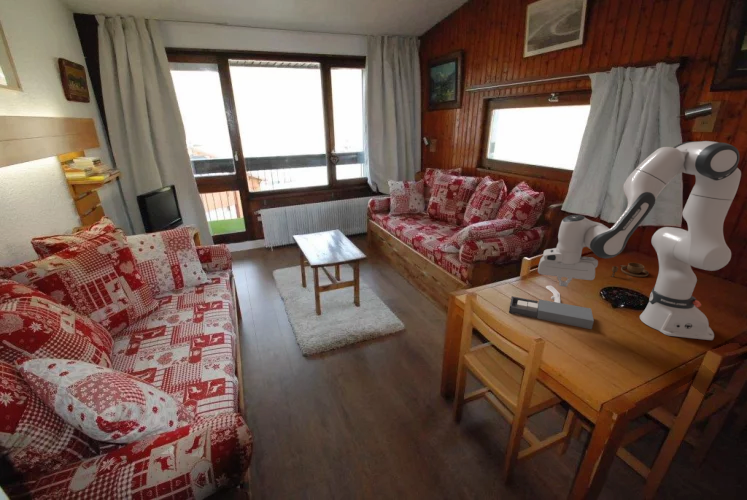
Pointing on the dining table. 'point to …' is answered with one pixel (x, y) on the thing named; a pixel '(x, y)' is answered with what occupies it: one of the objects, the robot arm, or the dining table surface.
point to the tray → (521, 311)
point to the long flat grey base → (565, 314)
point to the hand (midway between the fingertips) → (563, 285)
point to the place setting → (631, 269)
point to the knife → (554, 294)
